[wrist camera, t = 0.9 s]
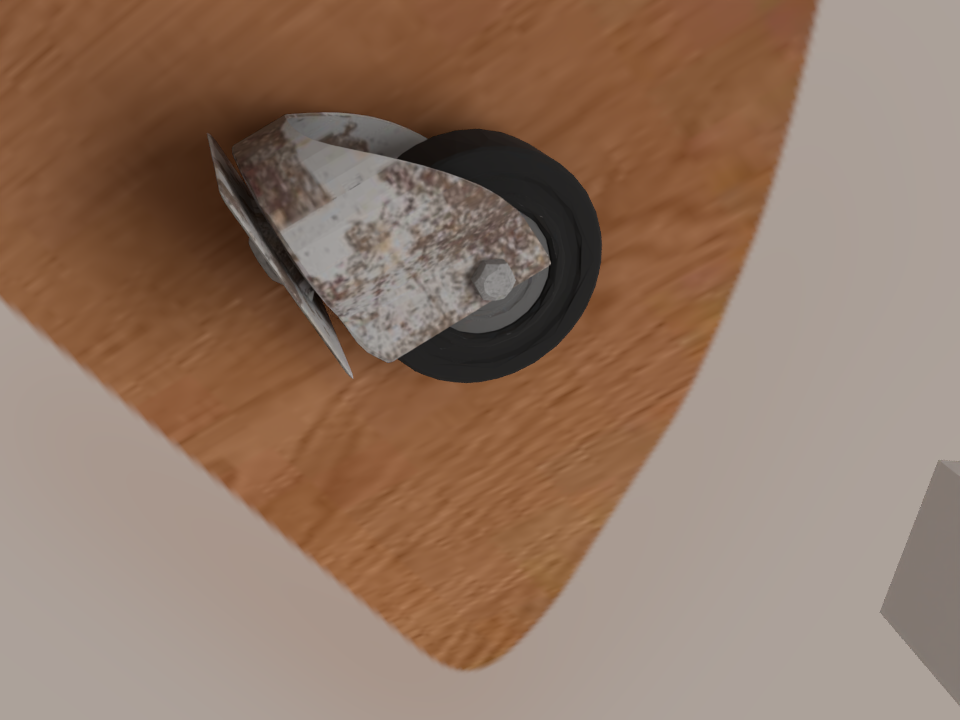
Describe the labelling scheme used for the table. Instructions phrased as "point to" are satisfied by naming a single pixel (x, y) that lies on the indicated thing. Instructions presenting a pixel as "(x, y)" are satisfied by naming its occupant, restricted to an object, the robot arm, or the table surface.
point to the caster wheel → (417, 239)
